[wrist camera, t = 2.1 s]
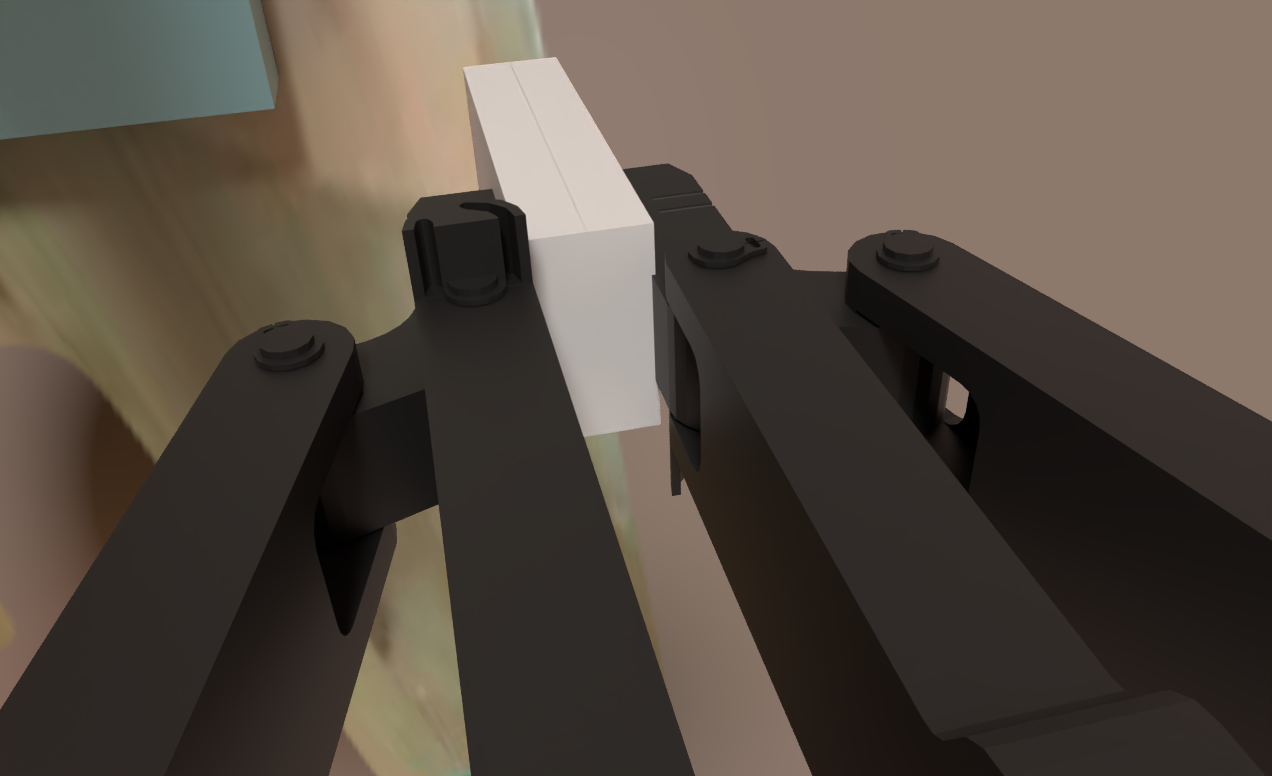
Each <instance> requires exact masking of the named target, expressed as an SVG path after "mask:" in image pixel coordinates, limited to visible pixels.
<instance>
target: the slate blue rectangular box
mask: <svg viewBox="0 0 1272 776" xmlns="http://www.w3.org/2000/svg"><path fill="white" fill-rule="evenodd" d="M278 84H279V76H278V72H277V68H276V63H275V59H274V55H273V51H272V46H271V42H270V38H269V33H268V29H267V25H266V20H265V16H264V12H263V8H262V3H261V0H0V140H1V139H10V138H19V137H28V136H37V135H46V134H55V133H64V132H73V131H81V130H90V129H99V128H108V127H117V126H126V125H135V124H144V123H153V122H161V121H170V120H179V119H188V118H197V117H206V116H215V115H224V114H233V113H241V112H250V111H259V110H268V109H275V103H276V97H277V90H278Z"/></svg>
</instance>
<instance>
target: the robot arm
mask: <svg viewBox="0 0 1272 776" xmlns="http://www.w3.org/2000/svg"><path fill="white" fill-rule="evenodd" d="M463 72H464V80H465V87H466V95H467V103H468V110H469V118H470V125H471V133H472V140H473V148H474V155H475V163H476V170H477V178H478V185H479V190H478V191H470V192H462V193H454V194H447V195H439V196H431V197H423V198H420V199H419V200H418V202H417V203H416V204H415V205H414V207H413V208H412V209H411V210H410V212H409V213H408V214H407V220H406V221H405V223H404V226H403V229H402V235H403V240H404V246H405V251H406V257H407V262H408V268H409V273H410V279H411V284H412V290H413V295H414V302H415V310H414V311H413V313H412V314H411V316H410V317H409V318H408V319H407V320H406V321H405V322H403V323H402V324H401V325H400V326H398V327H396V328H395V329H393V330H391V331H390V332H388V333H386V334H384V335H381V336H379V337H376V338H374V339H371V340H369V341H366V342H362V343H359V344H355V340H354V337H353V336H352V335H351V333H350V332H349V331H348V330H347V329H346V328H345V327H343V326H340V325H337V324H335V323H332V322H329V321H319V320H299V321H283V322H278V323H275V325H272V324H271V325H268V326H265V327H263V328H260V329H259V330H258V331H256V332H254V333H252V334H250V335H248V336H247V337H245V338H243V339H241V340H239V341H238V342H237V343H236V344H235V345H234V346H233V347H232V348H231V349H230V350H229V351H228V352H227V353H226V354H225V356H224V357H223V359H222V360H221V362H220V363H219V365H218V367H217V368H216V370H215V371H214V373H213V375H212V376H211V378H210V379H209V381H208V382H207V384H206V386H205V387H204V389H203V390H202V392H201V394H200V395H199V397H198V398H197V400H196V401H195V403H194V405H193V406H192V408H191V409H190V411H189V412H188V414H187V416H186V417H185V419H184V420H183V422H182V424H181V425H180V427H179V428H178V430H177V431H176V433H175V435H174V436H173V438H172V439H171V441H170V442H169V444H168V446H167V447H166V449H165V450H164V452H163V454H162V455H161V457H160V458H159V460H158V461H157V463H156V465H155V466H154V468H153V469H152V471H151V472H150V474H149V476H148V477H147V479H146V480H145V482H144V484H143V485H142V487H141V488H140V490H139V491H138V493H137V495H136V496H135V498H134V499H133V501H132V503H131V504H130V506H129V507H128V509H127V511H126V512H125V514H124V515H123V517H122V518H121V520H120V522H119V523H118V525H117V526H116V528H115V529H114V531H113V533H112V534H111V536H110V537H109V539H108V541H107V542H106V544H105V545H104V547H103V548H102V550H101V552H100V553H99V555H98V556H97V558H96V560H95V561H94V563H93V564H92V566H91V567H90V569H89V570H88V572H87V574H86V575H85V577H84V578H83V580H82V581H81V583H80V585H79V586H78V588H77V589H76V591H75V593H74V594H73V596H72V597H71V599H70V600H69V602H68V604H67V605H66V607H65V608H64V610H63V611H62V613H61V615H60V616H59V618H58V620H57V621H56V623H55V624H54V626H53V627H52V629H51V630H50V632H49V634H48V635H47V637H46V638H45V640H44V642H43V643H42V645H41V646H40V648H39V649H38V651H37V653H36V654H35V656H34V657H33V659H32V661H31V662H30V664H29V665H28V667H27V668H26V670H25V672H24V673H23V675H22V676H21V678H20V680H19V681H18V683H17V684H16V686H15V687H14V689H13V691H12V692H11V694H10V695H9V697H8V698H7V700H6V702H5V703H4V705H3V706H2V708H1V710H0V776H328V775H329V772H330V768H331V765H332V762H333V758H334V755H335V751H336V748H337V745H338V741H339V737H340V735H341V731H342V728H343V724H344V721H345V717H346V714H347V711H348V707H349V704H350V700H351V697H352V694H353V690H354V687H355V683H356V680H357V676H358V673H359V670H360V666H361V663H362V659H363V656H364V653H365V649H366V646H367V642H368V639H369V635H370V632H371V629H372V625H373V622H374V618H375V615H376V612H377V608H378V605H379V601H380V598H381V595H382V591H383V588H384V584H385V581H386V577H387V574H388V571H389V567H390V564H391V560H392V557H393V554H394V550H395V547H396V543H397V528H396V523H395V522H397V521H399V520H402V519H404V518H406V517H409V516H411V515H414V514H416V513H419V512H421V511H423V510H426V509H428V508H431V507H433V506H435V505H438V504H439V511H440V519H441V527H442V536H443V544H444V552H445V561H446V569H447V578H448V586H449V594H450V603H451V611H452V619H453V628H454V636H455V644H456V653H457V661H458V669H459V678H460V686H461V695H462V703H463V711H464V720H465V728H466V736H467V745H468V753H469V761H470V770H471V776H695V774H694V771H693V769H692V766H691V762H690V759H689V756H688V753H687V750H686V747H685V744H684V741H683V738H682V735H681V732H680V729H679V726H678V723H677V720H676V717H675V714H674V711H673V708H672V704H671V702H670V699H669V695H668V692H667V689H666V686H665V683H664V680H663V677H662V674H661V671H660V668H659V665H658V662H657V659H656V656H655V653H654V650H653V647H652V643H651V640H650V637H649V634H648V631H647V628H646V625H645V622H644V619H643V616H642V613H641V610H640V607H639V604H638V601H637V598H636V595H635V592H634V589H633V586H632V583H631V579H630V576H629V573H628V570H627V567H626V564H625V561H624V558H623V555H622V552H621V549H620V546H619V543H618V540H617V537H616V534H615V531H614V528H613V525H612V522H611V519H610V515H609V512H608V509H607V506H606V503H605V500H604V497H603V494H602V491H601V488H600V485H599V482H598V479H597V476H596V473H595V470H594V467H593V464H592V461H591V458H590V455H589V451H588V448H587V445H586V442H585V439H584V437H588V436H594V435H600V434H606V433H612V432H618V431H624V430H630V429H636V428H641V427H647V426H653V425H659V424H660V395H659V388H660V390H661V393H662V395H663V397H664V399H665V401H666V404H667V406H668V408H669V432H670V469H671V489H672V496H675V495H680V494H681V481H682V480H683V478H684V479H685V481H686V483H687V486H688V488H689V490H690V493H691V495H692V497H693V499H694V502H695V504H696V506H697V509H698V511H699V513H700V516H701V518H702V520H703V523H704V525H705V527H706V530H707V532H708V534H709V537H710V539H711V541H712V544H713V546H714V548H715V551H716V553H717V555H718V558H719V560H720V562H721V564H722V567H723V569H724V571H725V574H726V576H727V578H728V581H729V583H730V585H731V588H732V590H733V592H734V595H735V597H736V599H737V602H738V604H739V606H740V609H741V611H742V613H743V616H744V618H745V620H746V622H747V625H748V627H749V630H750V632H751V634H752V636H753V639H754V641H755V643H756V646H757V648H758V650H759V653H760V655H761V657H762V660H763V662H764V664H765V666H766V669H767V671H768V674H769V676H770V678H771V681H772V683H773V685H774V688H775V690H776V692H777V694H778V697H779V699H780V702H781V704H782V706H783V708H784V711H785V713H786V715H787V718H788V720H789V722H790V725H791V727H792V729H793V732H794V734H795V736H796V738H797V741H798V743H799V746H800V748H801V750H802V752H803V755H804V757H805V759H806V762H807V764H808V767H809V769H810V771H811V773H812V776H1272V422H1271V421H1270V420H1268V419H1266V418H1264V417H1263V416H1261V415H1259V414H1257V413H1255V412H1254V411H1252V410H1250V409H1248V408H1247V407H1245V406H1243V405H1241V404H1239V403H1238V402H1235V401H1234V400H1232V399H1230V398H1229V397H1227V396H1225V395H1223V394H1221V393H1220V392H1218V391H1216V390H1214V389H1213V388H1211V387H1209V386H1207V385H1205V384H1204V383H1202V382H1200V381H1198V380H1196V379H1194V378H1193V377H1191V376H1189V375H1188V374H1186V373H1184V372H1182V371H1180V370H1179V369H1177V368H1175V367H1173V366H1171V365H1170V364H1168V363H1166V362H1164V361H1162V360H1161V359H1159V358H1157V357H1155V356H1154V355H1152V354H1150V353H1148V352H1146V351H1145V350H1143V349H1141V348H1139V347H1137V346H1136V345H1134V344H1132V343H1130V342H1128V341H1127V340H1125V339H1123V338H1121V337H1120V336H1118V335H1116V334H1114V333H1112V332H1111V331H1109V330H1107V329H1105V328H1103V327H1102V326H1100V325H1098V324H1096V323H1095V322H1092V321H1091V320H1089V319H1087V318H1086V317H1084V316H1082V315H1080V314H1078V313H1077V312H1074V311H1073V310H1071V309H1069V308H1068V307H1065V306H1064V305H1062V304H1061V303H1059V302H1057V301H1055V300H1053V299H1052V298H1050V297H1048V296H1046V295H1044V294H1043V293H1040V292H1039V291H1037V290H1036V289H1034V288H1032V287H1030V286H1028V285H1027V284H1025V283H1023V282H1021V281H1019V280H1018V279H1016V278H1014V277H1012V276H1010V275H1009V274H1007V273H1005V272H1003V271H1002V270H1000V269H998V268H996V267H994V266H993V265H991V264H989V263H987V262H985V261H984V260H982V259H980V258H978V257H976V256H975V255H973V254H971V253H969V252H967V251H966V250H964V249H962V248H960V247H959V246H957V245H955V244H953V243H951V242H948V241H946V240H943V239H941V238H938V237H936V236H932V235H926V234H921V233H919V232H917V231H914V230H913V231H912V230H903V232H901V230H890V231H887V232H886V233H880V234H875V235H870V236H867V237H865V238H863V239H861V240H858V241H856V242H855V243H854V244H853V245H852V247H851V248H850V249H849V250H848V259H847V271H846V272H829V271H803V270H793V269H792V268H791V266H790V265H789V264H788V262H787V261H786V260H785V259H784V257H783V256H782V255H781V254H780V252H779V251H778V250H777V248H776V247H775V246H774V245H772V244H771V243H770V242H768V241H767V240H766V239H764V238H761V237H759V236H756V235H753V234H750V233H747V232H739V231H732V230H731V228H730V227H729V225H728V224H727V223H726V221H725V220H724V218H723V217H722V216H721V214H720V213H719V212H718V210H717V209H716V208H715V206H712V202H711V201H710V200H709V198H708V197H707V195H706V194H705V193H703V190H702V188H701V187H700V186H699V184H698V183H697V181H696V180H695V179H694V177H693V176H692V175H691V174H688V173H686V172H684V171H682V170H680V169H678V168H676V167H674V166H672V165H670V164H660V165H653V166H645V167H637V168H630V169H621V167H620V165H619V163H618V162H617V160H616V158H615V156H614V155H613V153H612V152H611V150H610V148H609V146H608V145H607V143H606V141H605V139H604V138H603V136H602V134H601V133H600V131H599V129H598V128H597V126H596V124H595V123H594V121H593V119H592V117H591V116H590V114H589V112H588V111H587V109H586V107H585V106H584V104H583V102H582V101H581V99H580V97H579V95H578V94H577V92H576V91H575V89H574V87H573V85H572V84H571V82H570V80H569V79H568V77H567V75H566V73H565V72H564V70H563V68H562V67H561V65H560V63H559V62H558V60H557V58H556V57H553V58H543V59H534V60H525V61H515V62H506V63H497V64H488V65H478V66H469V67H463ZM950 376H951V377H952V378H954V379H955V380H956V381H958V382H959V383H961V384H962V385H963V386H964V387H965V388H966V389H967V390H968V391H969V396H968V402H967V408H966V413H965V415H964V418H963V419H962V418H960V417H958V416H956V415H955V414H953V413H952V412H951V411H949V410H948V409H947V408H945V406H946V400H947V394H948V387H949V381H950Z"/></svg>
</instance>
